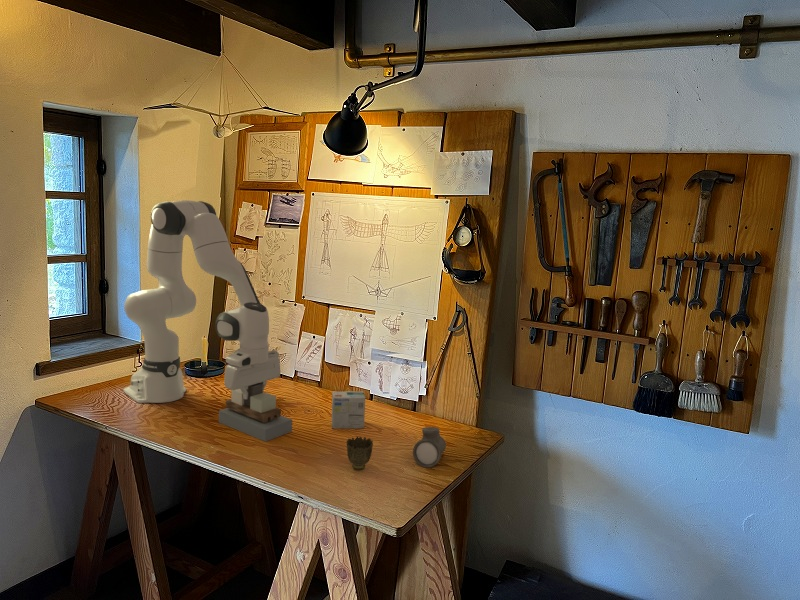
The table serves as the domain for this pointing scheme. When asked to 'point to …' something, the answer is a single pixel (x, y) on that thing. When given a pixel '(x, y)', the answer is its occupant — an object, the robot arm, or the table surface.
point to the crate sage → (262, 402)
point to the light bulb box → (348, 409)
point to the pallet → (249, 412)
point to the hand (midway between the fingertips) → (253, 396)
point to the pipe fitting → (429, 447)
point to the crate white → (237, 397)
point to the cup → (359, 452)
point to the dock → (255, 425)
